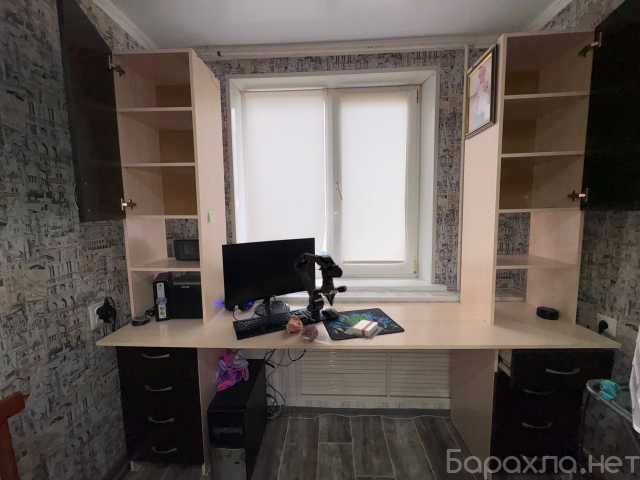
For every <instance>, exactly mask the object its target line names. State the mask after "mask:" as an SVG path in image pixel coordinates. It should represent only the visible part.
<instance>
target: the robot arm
mask: <svg viewBox="0 0 640 480" xmlns="http://www.w3.org/2000/svg"><path fill="white" fill-rule="evenodd" d="M294 261H295V262H293V263H294V267H293V269H294V268H295V269H294V271H295V272H296V273H297V275H299V276H300V278H301V280H302V283H303V285H304V287H305V290H306V292H307V295H308V304H307V305H306V311H307V312H309V313H310V318H312V319H315V320H316V321H318V322H321V321H320V318H321V310H323V309H324V306H325V301H324V300H325V299H326V300H327V301H328V303H329V305H330V307H333V305H334V302H335V297H336V294H338V293H341V294H343V293H346V292H347V291H348V287H347V285H339V286H338V287H335V284H334V279H339V278H342V277H343V274H344V271H343V269H342V268H341V267H340V265H339V264H336V262H335V261H334V259H333V257H331V255H330V254H324V255H323V254H322V255H319V254H315V253H309V252H304V253H300V255H299V256H298V257H297V258H296V259H295V260H294ZM310 262H311V263H316V265H317V266H319V268H318V271H320V272H321V278H322V282H321V286H320V287H319V288H316V287H315V286H314V283H313V280H312V279H311V276H310V274H309V271H308V270H309V263H310ZM323 297H325V299H324V298H323Z"/></svg>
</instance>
